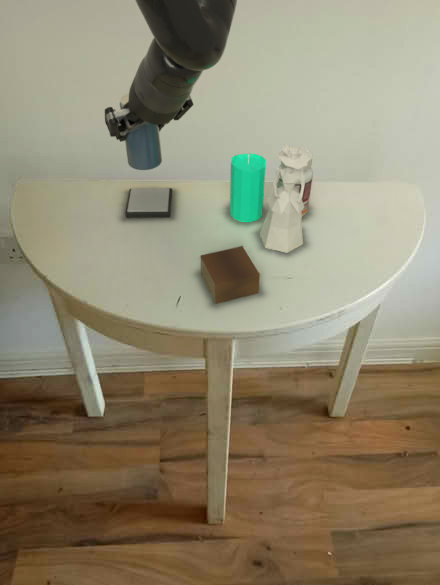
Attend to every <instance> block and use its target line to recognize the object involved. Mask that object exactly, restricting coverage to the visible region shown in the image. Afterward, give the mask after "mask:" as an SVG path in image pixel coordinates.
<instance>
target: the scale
mask: <svg viewBox="0 0 440 585" xmlns="http://www.w3.org/2000/svg"><path fill="white" fill-rule="evenodd" d="M172 198H173V188H171V187H131V188H129V191H128V196H127V202H126V207H125V213H124V215H125V218H126V219H152V218H155V219H156V218H160V219H161V218H165V219H166V218H171V211H172V201H173V200H172Z"/></svg>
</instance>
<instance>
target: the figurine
mask: <svg viewBox="0 0 440 585" xmlns="http://www.w3.org/2000/svg"><path fill="white" fill-rule="evenodd" d="M281 146H282V147H281V150H280V151H278V153H277V158H278V159H279V161H280V162H281V161H282V162H283V163H284V164H285V166H284V167H283V168H281V167H279V166H278V167H277V168H276V169H275V170H274V171H275V172H274V173H275V175H274V180H273V191H272V192H271V194H270V195H268V196H267V198H266V199H265V200H266V202H267V204H268V207H267V212H266V216H265V219H264V222H263V224H262V227H261V229H260V232H259V237H260V239H261V241H262V243H263V246H264V248H265V249H269V250H274V251H278V252H282V253H285V254H288V253H290V252H292V251H294V250H295V249H297V248H298V247H300V246H302V245H303V244H304V241H303V240H304V238H303V226H302V217H303V216H302V209H303V208H304V205H303V202H302V196H303V191H304V186H305V183H304V176H303V171H304V170H303V168H302V167H304V166H307V160H308V156H307V155H306V154H305V153H304V152H303V151H301V150H300V149H299V148H300V147H298V148H293V146H288V144H286V143H285V144H284V143H282V144H281ZM280 175H281V178H282V182H283V186H281V187H279V188H277V183H278V180H279V178H280ZM299 176H300V177H299ZM299 178H300V180H301V191H300V193H299V191H298V188H295V187H294V186H295V183H297V182H298V179H299Z"/></svg>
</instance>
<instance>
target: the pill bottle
mask: <svg viewBox="0 0 440 585" xmlns="http://www.w3.org/2000/svg"><path fill="white" fill-rule="evenodd" d="M292 147H293V146H292ZM293 148H299V149H300V150H301V151H303V152H304V153H305V154H306V155H307V156H308V160H307V166H304V167H302V168H303V170H304V171H303V176H304V183H305V186H304V191H303V196H302V202H303V205H304V208H303V209H302V217H304V216H305V215H306V214H307V212H308V209H309V204H310V196H311V190H312V184H313V179H314V178H313V177H314V171H313V168H312V162H313V153H312V152H311V151H310V150H308V149H306V148H304V147H296V146H294V147H293ZM284 166H285V164H284V163H283V162H282V161H281V160H280V165H279V166H278V167H281V168H283V167H284ZM299 177H300V176H299ZM281 186H283V182H282V178H281V175H280V178H279V180H278V183H277V188H279V187H281ZM294 187H295V188H298V191H299V193H300V191H301V180H300V178H299V179H298V182H297V183H295V186H294Z"/></svg>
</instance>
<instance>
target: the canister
mask: <svg viewBox="0 0 440 585" xmlns="http://www.w3.org/2000/svg"><path fill="white" fill-rule="evenodd" d="M128 101H129V93H127V94H124V95H122V96H121V98H120V100H119V110H121V109H123V106H124V105H125V104H126V103H127V102H128ZM124 123H125V121H124ZM125 125H126V123H125ZM124 144H125V151H126V156H127V163H128V166H129V167H130V168H132V169H134V170H136V171H137V170H138V171H150V170H153V169H156V168H158V167H159V166H160V165H161V164H162V162H163V156H162V147H161V146H162V145H161V137H160V132H159V125H156V124H151V123H148V124H144V125H143V126H141V127H140V128H139V129H138V130H136V131H130V132H129V133H128V135H127V137H126V139H125V141H124Z"/></svg>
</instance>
